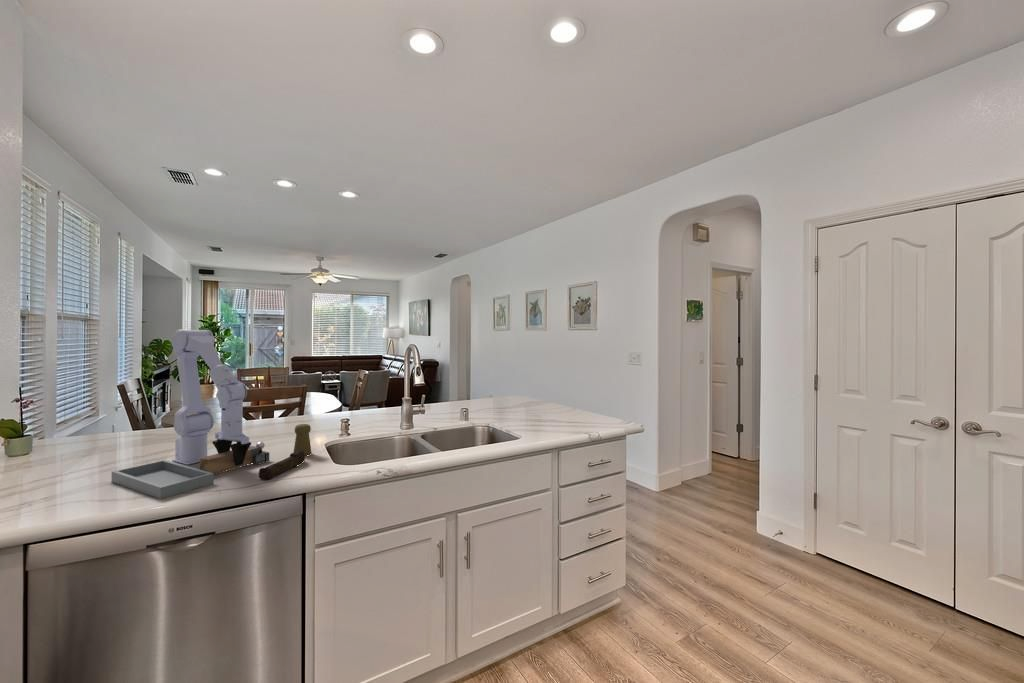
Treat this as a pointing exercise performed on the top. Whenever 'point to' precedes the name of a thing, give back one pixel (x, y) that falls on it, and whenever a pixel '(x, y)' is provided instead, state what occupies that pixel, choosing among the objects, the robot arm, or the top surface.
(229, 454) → the strut
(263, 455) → the stud bracket
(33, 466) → the top surface
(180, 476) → the tray
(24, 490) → the top surface
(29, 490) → the top surface
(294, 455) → the hand tool
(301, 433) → the olive bottle
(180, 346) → the robot arm
